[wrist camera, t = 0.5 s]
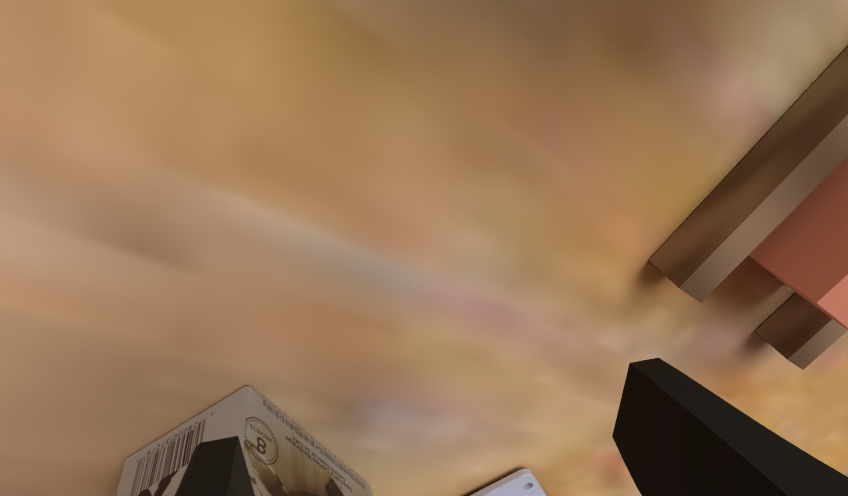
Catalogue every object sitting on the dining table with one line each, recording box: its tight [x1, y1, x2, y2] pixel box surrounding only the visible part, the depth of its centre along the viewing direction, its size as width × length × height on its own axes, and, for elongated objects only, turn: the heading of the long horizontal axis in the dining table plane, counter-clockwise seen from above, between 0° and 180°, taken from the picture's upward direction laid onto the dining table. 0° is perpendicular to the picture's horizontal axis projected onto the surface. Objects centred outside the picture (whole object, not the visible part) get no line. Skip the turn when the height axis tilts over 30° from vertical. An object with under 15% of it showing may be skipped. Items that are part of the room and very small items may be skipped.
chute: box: [649, 47, 848, 369], centre depth 22 cm, size 12×10×2 cm
